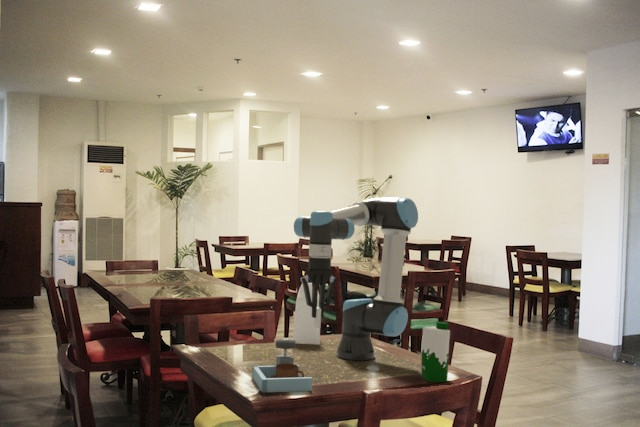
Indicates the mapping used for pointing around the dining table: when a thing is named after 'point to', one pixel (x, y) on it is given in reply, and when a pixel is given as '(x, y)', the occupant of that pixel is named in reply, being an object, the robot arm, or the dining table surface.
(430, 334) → the milk carton
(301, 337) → the milk
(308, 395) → the dining table surface
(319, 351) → the dining table surface
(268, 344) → the dining table surface
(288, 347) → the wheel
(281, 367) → the cup and saucer
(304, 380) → the light blue tray
